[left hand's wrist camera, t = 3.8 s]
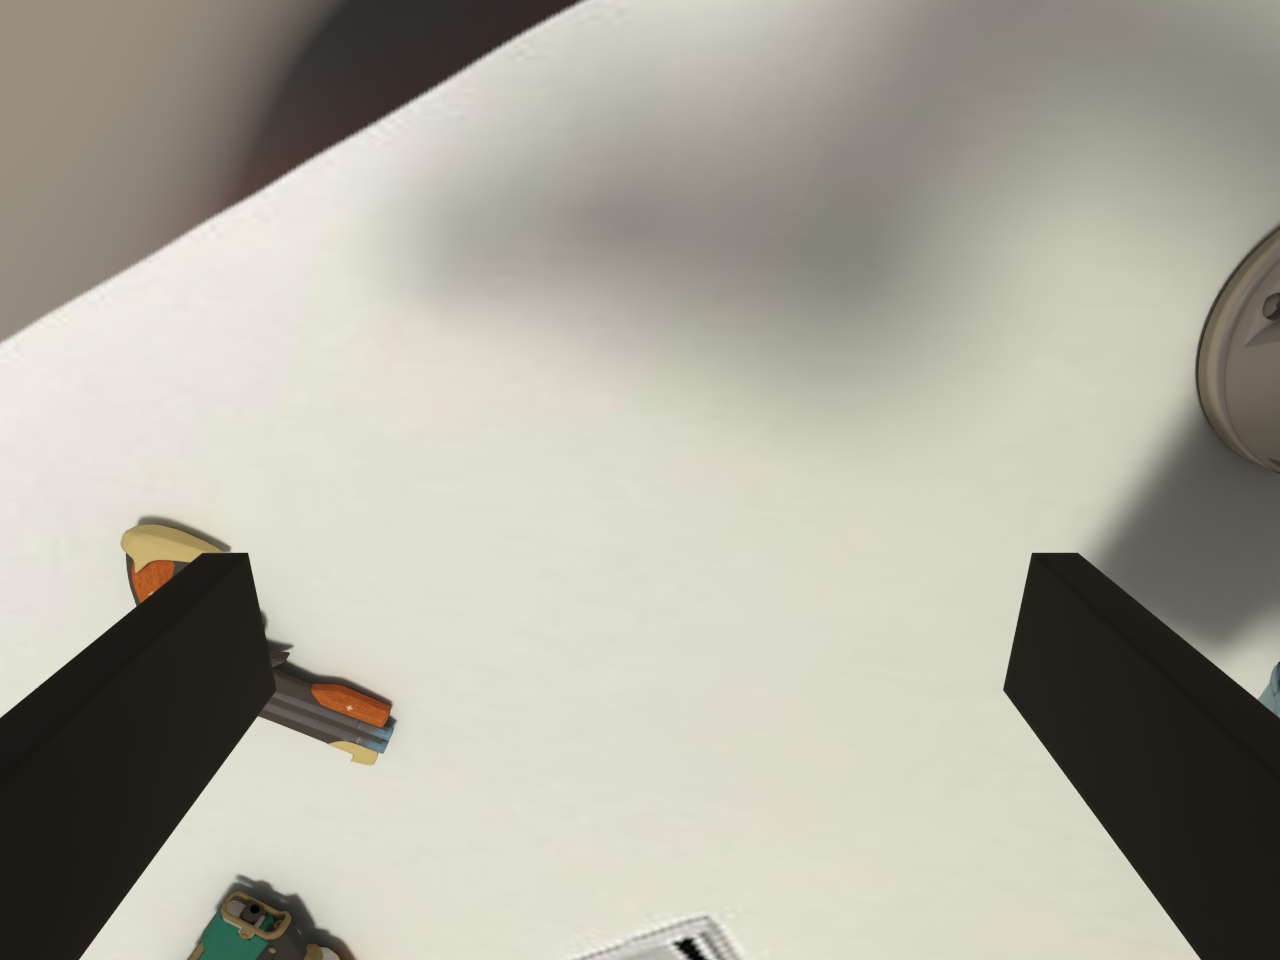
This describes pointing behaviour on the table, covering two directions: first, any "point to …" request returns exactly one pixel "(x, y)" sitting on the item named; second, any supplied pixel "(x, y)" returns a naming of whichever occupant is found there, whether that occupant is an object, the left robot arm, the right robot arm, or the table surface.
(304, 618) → the table surface
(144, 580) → the toy gun
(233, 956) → the spray gun
